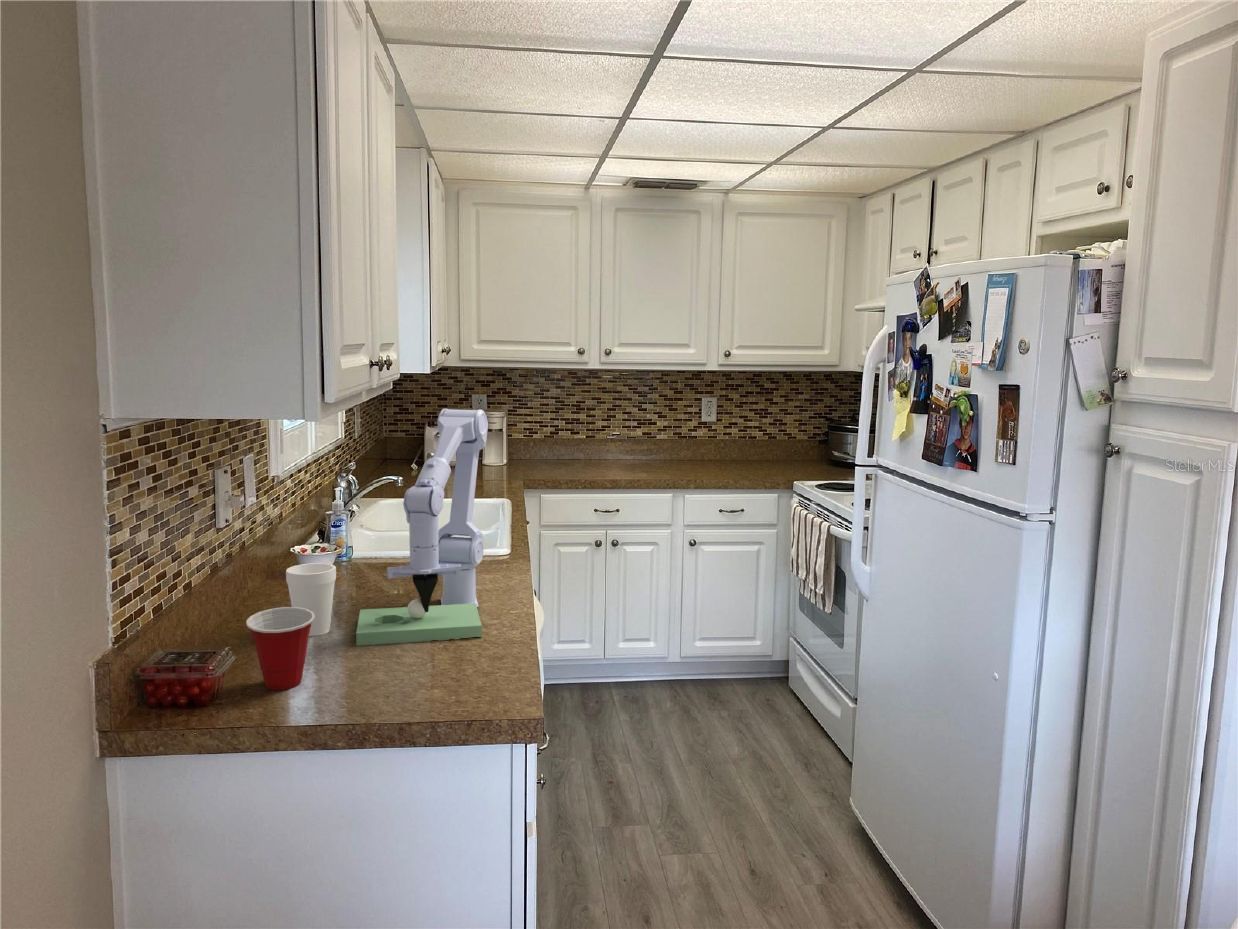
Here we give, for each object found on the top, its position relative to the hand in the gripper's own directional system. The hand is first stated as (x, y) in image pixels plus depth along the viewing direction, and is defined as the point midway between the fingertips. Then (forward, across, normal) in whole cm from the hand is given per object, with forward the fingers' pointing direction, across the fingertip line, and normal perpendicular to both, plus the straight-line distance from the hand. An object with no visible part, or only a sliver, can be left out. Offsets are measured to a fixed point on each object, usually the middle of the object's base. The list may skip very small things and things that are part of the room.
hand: (425, 610), depth 177 cm
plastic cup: (+5, -24, -25) cm, 35 cm away
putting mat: (+4, -1, +1) cm, 4 cm away
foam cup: (+4, -22, +4) cm, 23 cm away
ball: (0, -2, 0) cm, 2 cm away
